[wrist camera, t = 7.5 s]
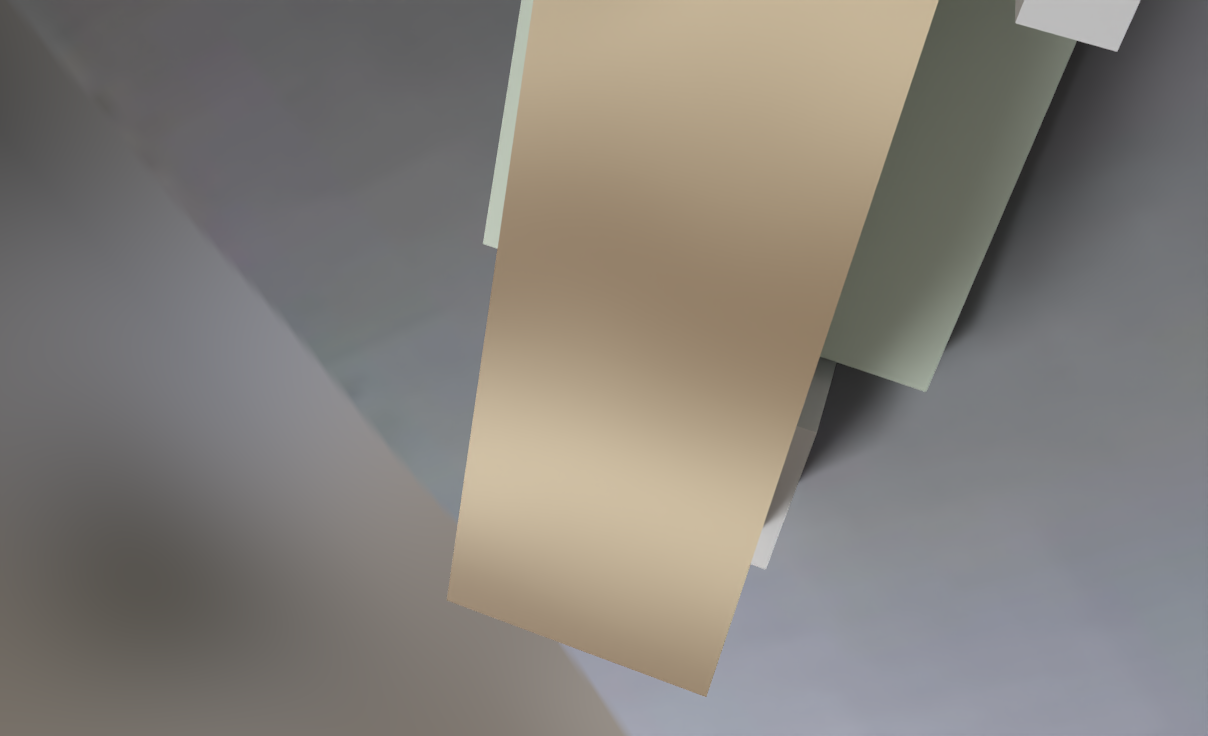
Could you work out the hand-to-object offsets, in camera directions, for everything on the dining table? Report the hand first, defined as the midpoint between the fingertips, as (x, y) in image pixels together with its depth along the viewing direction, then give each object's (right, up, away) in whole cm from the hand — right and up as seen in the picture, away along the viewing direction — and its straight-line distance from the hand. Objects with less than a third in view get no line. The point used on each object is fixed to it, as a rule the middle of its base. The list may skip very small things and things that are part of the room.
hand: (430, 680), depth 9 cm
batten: (+3, +5, +7) cm, 10 cm away
